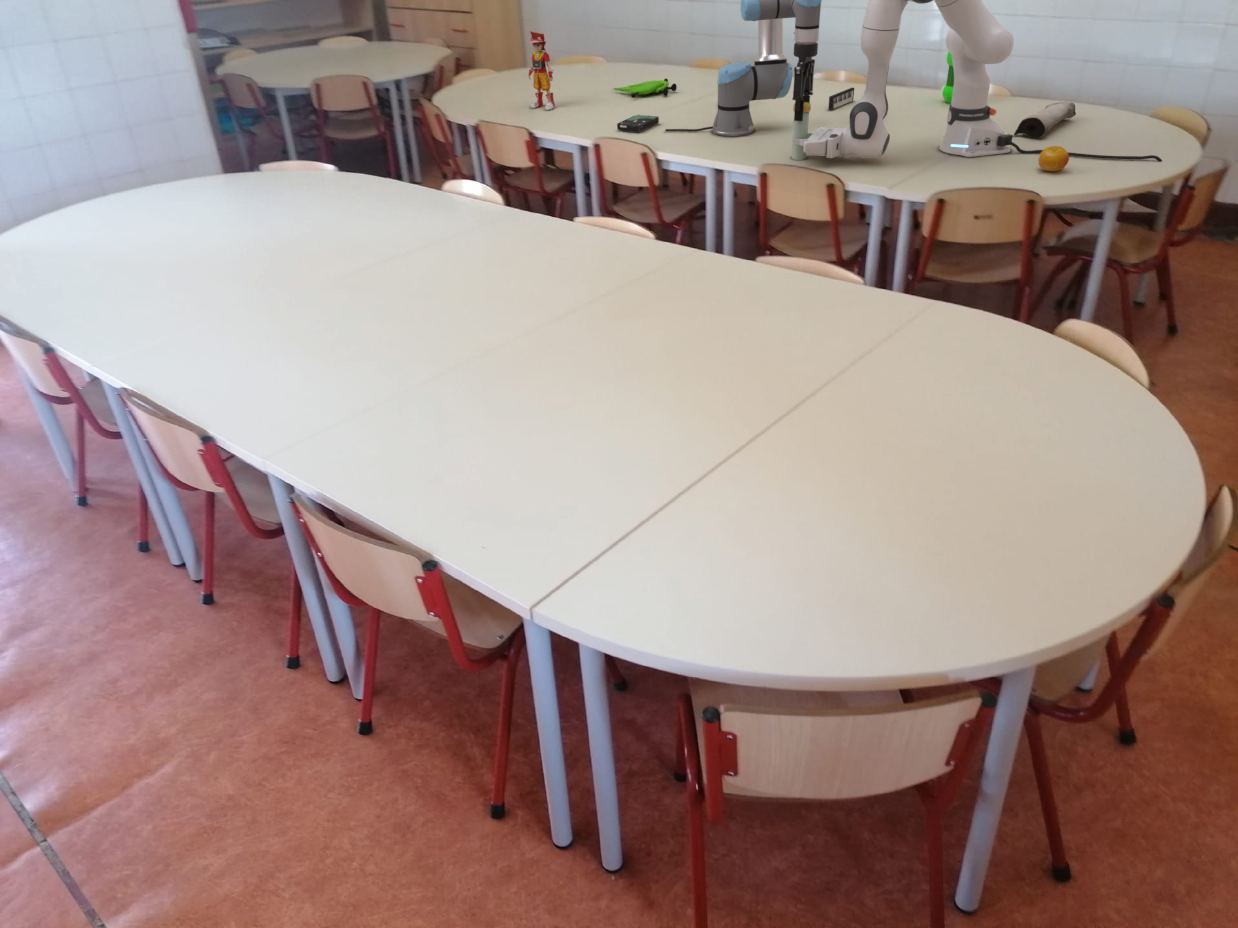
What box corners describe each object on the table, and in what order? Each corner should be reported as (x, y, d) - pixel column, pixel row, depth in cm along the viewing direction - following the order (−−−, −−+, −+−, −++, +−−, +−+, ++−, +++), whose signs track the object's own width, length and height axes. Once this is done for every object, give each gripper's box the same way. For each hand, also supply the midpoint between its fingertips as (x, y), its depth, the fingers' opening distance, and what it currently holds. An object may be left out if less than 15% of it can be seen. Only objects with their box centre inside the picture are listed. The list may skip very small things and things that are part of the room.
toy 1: (525, 109, 381) (517, 32, 364) (534, 104, 388) (527, 28, 371) (550, 110, 377) (543, 32, 360) (559, 105, 384) (553, 28, 367)
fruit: (1033, 161, 277) (1052, 138, 274) (1031, 164, 284) (1049, 141, 281) (1057, 177, 275) (1075, 153, 272) (1054, 179, 283) (1072, 156, 280)
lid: (809, 108, 298) (809, 101, 297) (811, 112, 294) (811, 106, 293) (792, 109, 299) (793, 102, 298) (794, 113, 294) (794, 106, 293)
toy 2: (686, 85, 398) (631, 84, 414) (685, 72, 395) (629, 72, 411) (651, 104, 381) (596, 103, 397) (650, 92, 378) (594, 91, 394)
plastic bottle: (973, 101, 354) (984, 32, 339) (955, 106, 349) (966, 36, 335) (952, 97, 361) (962, 29, 346) (934, 102, 356) (944, 33, 342)
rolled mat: (1043, 107, 330) (1067, 89, 322) (1056, 128, 330) (1081, 111, 322) (1009, 129, 312) (1034, 111, 304) (1024, 151, 313) (1049, 134, 305)
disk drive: (640, 133, 341) (659, 123, 351) (639, 126, 339) (659, 116, 349) (617, 131, 346) (636, 121, 356) (616, 123, 344) (636, 113, 354)
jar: (809, 158, 304) (812, 106, 295) (797, 161, 302) (800, 108, 293) (800, 155, 308) (803, 103, 298) (788, 157, 306) (791, 106, 296)
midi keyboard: (831, 110, 354) (832, 97, 351) (828, 110, 355) (829, 96, 352) (853, 101, 364) (854, 88, 361) (850, 100, 365) (851, 87, 362)
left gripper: (804, 36, 293) (799, 111, 306) (784, 47, 279) (781, 124, 293) (826, 37, 289) (821, 112, 303) (808, 48, 276) (803, 126, 290)
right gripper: (846, 123, 302) (806, 121, 308) (831, 140, 287) (789, 137, 293) (845, 142, 306) (805, 140, 311) (829, 160, 291) (788, 156, 296)
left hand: (801, 118), depth 298 cm, fingers closed on lid, 5 cm apart
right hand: (797, 138), depth 302 cm, fingers closed on jar, 5 cm apart
